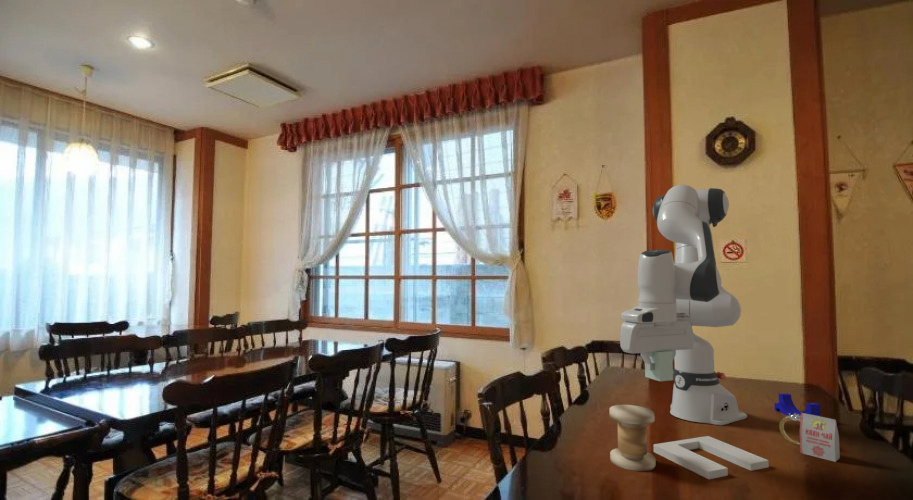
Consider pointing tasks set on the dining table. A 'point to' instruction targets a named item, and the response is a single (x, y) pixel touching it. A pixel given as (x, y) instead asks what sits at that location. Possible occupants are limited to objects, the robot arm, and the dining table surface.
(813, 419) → the tea bag
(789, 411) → the cable clip
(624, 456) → the bobbin
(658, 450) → the u-shaped core
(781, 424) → the ring
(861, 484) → the dining table surface
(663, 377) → the pale green block
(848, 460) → the dining table surface
